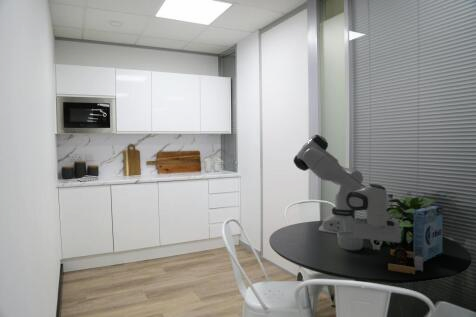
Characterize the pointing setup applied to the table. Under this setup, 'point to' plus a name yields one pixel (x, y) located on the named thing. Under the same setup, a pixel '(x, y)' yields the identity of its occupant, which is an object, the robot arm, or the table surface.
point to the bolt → (400, 256)
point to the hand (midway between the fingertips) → (376, 249)
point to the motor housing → (406, 269)
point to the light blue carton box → (428, 231)
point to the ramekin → (349, 241)
